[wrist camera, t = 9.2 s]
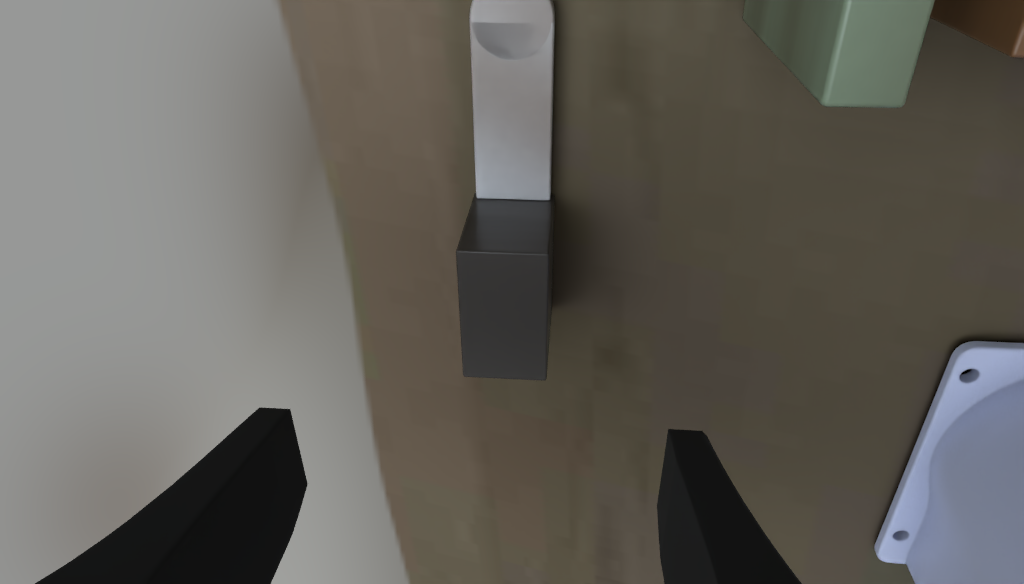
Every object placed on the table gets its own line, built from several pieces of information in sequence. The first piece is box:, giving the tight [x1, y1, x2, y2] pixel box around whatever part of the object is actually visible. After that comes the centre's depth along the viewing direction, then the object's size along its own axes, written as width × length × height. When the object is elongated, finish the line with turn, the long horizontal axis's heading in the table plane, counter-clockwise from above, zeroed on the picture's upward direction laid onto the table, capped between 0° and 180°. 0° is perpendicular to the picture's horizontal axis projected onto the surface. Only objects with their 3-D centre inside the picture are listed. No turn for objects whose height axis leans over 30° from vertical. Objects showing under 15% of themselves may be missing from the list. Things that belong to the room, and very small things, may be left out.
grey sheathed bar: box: [456, 0, 555, 380], centre depth 17 cm, size 9×2×3 cm, turn 1°
